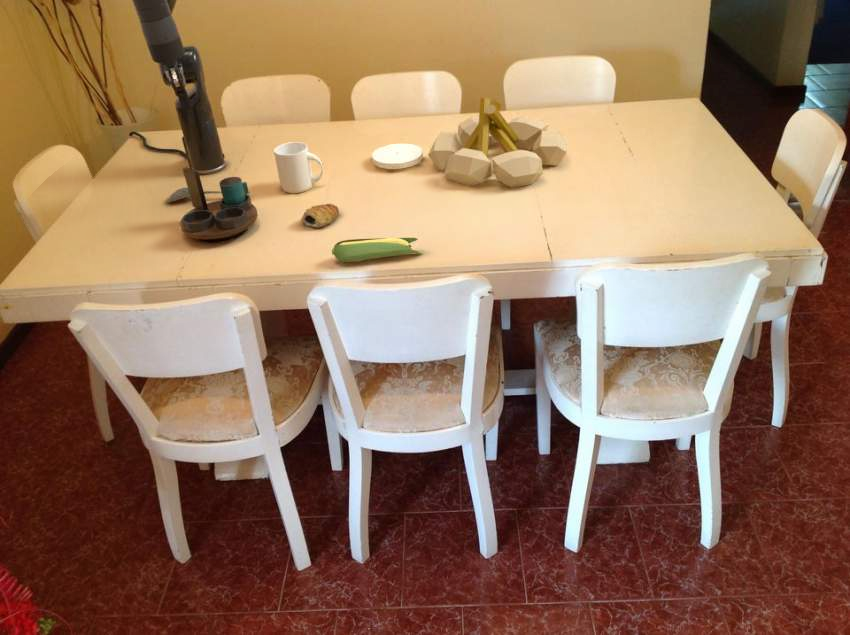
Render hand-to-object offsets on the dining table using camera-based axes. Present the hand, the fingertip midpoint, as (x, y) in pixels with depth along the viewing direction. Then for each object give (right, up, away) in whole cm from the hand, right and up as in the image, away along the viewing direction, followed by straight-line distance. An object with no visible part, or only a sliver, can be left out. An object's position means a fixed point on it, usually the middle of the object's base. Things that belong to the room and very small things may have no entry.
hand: (187, 108), depth 177 cm
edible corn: (+48, -38, -18) cm, 63 cm away
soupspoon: (+1, +12, -11) cm, 16 cm away
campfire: (+77, -9, +19) cm, 80 cm away
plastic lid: (+50, -8, +25) cm, 56 cm away
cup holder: (+8, -27, -2) cm, 28 cm away
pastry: (+32, -27, -1) cm, 43 cm away
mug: (+26, -16, +16) cm, 34 cm away
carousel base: (+9, -29, -1) cm, 31 cm away
